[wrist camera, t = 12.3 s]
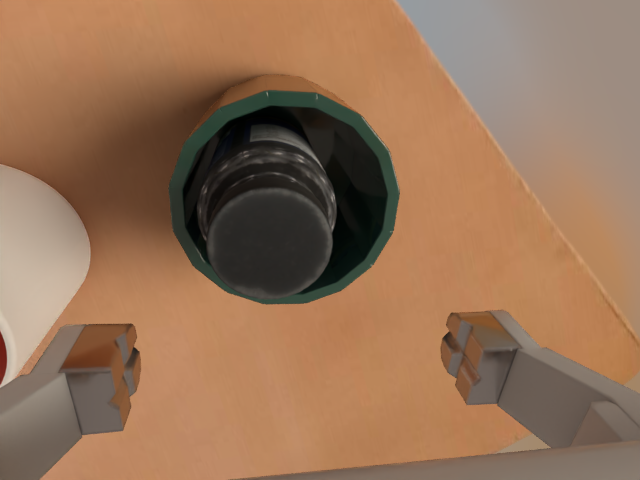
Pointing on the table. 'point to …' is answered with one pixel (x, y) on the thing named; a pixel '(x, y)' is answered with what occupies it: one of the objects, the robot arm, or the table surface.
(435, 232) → the table surface
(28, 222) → the cup
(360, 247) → the green cup
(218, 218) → the pill bottle
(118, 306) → the table surface
